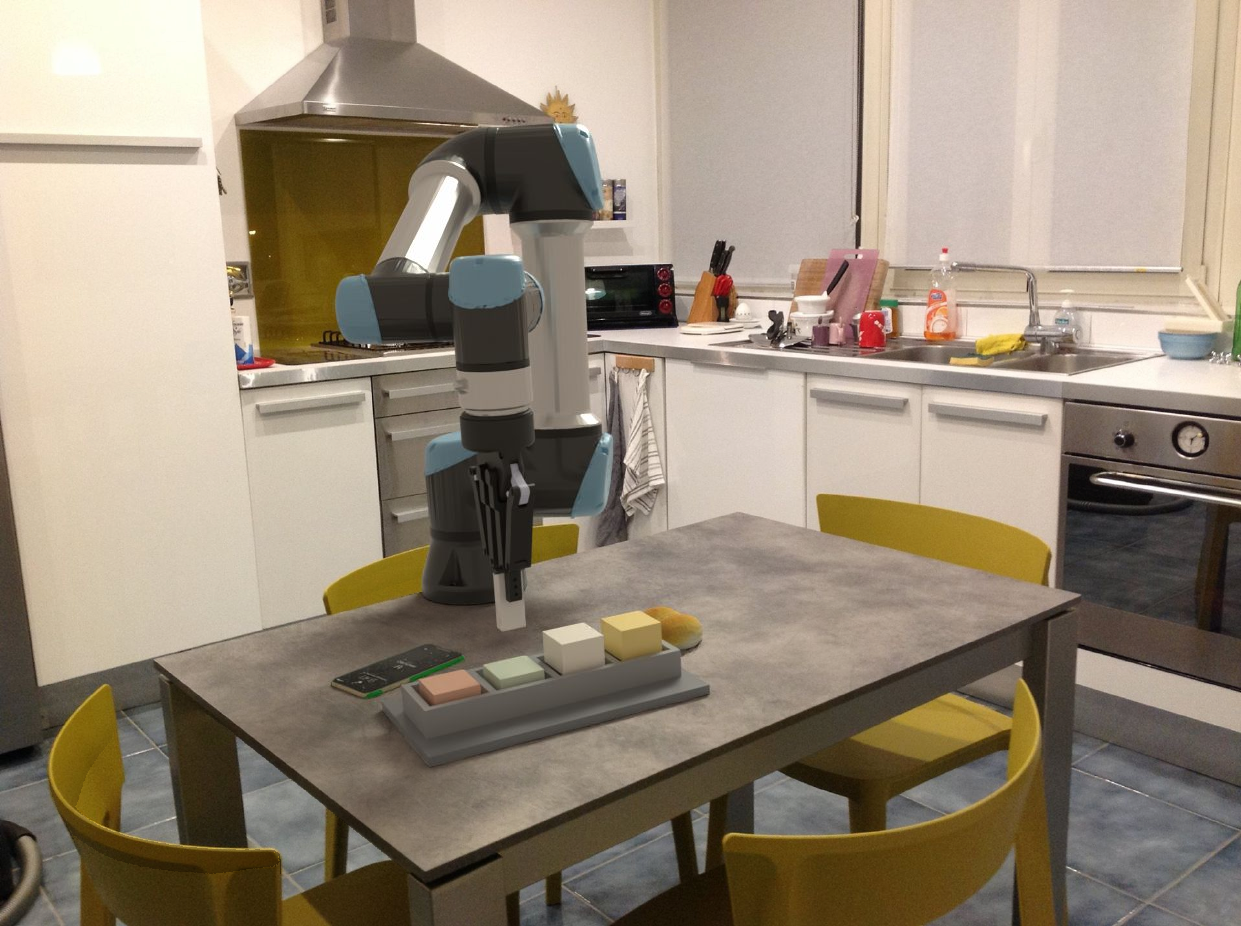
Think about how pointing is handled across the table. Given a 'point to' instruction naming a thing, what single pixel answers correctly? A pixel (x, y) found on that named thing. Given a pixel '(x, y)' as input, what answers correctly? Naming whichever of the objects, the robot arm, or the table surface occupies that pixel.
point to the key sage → (512, 672)
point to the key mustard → (631, 635)
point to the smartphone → (397, 670)
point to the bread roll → (677, 627)
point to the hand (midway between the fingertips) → (511, 626)
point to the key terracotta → (448, 687)
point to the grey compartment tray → (540, 705)
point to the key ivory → (573, 648)
